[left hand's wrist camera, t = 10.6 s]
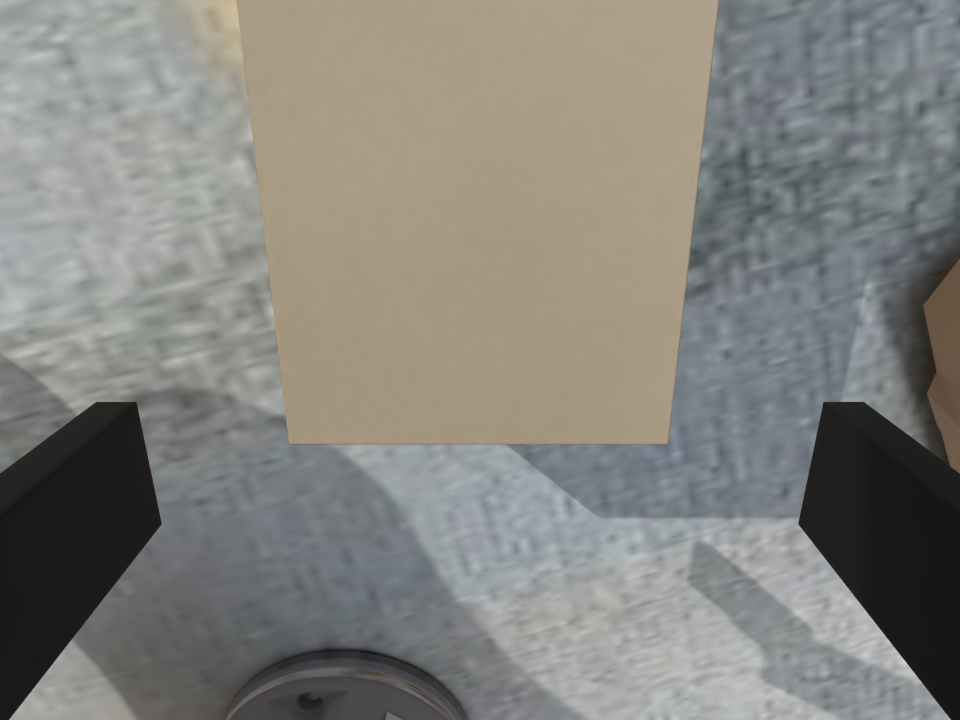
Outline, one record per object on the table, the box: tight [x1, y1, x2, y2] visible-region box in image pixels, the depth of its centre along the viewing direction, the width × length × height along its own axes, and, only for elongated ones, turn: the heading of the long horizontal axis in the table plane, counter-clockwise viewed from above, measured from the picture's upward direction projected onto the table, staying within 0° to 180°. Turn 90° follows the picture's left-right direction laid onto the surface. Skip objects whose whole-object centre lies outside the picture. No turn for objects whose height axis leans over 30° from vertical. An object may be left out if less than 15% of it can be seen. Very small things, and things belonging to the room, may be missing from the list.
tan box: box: [237, 0, 719, 444], centre depth 22 cm, size 17×12×12 cm, turn 0°
